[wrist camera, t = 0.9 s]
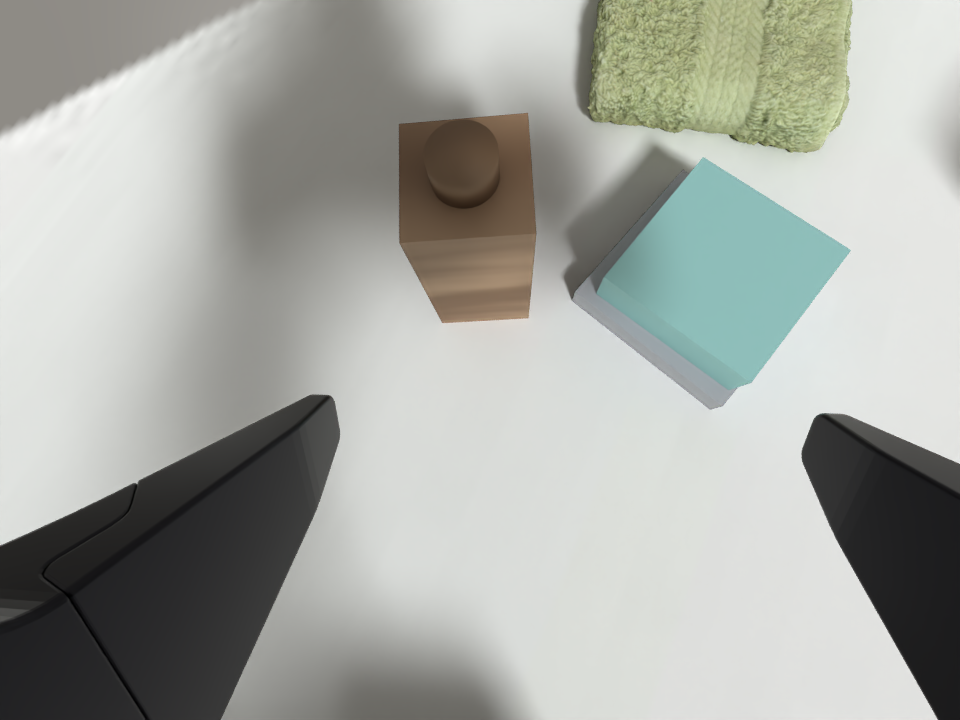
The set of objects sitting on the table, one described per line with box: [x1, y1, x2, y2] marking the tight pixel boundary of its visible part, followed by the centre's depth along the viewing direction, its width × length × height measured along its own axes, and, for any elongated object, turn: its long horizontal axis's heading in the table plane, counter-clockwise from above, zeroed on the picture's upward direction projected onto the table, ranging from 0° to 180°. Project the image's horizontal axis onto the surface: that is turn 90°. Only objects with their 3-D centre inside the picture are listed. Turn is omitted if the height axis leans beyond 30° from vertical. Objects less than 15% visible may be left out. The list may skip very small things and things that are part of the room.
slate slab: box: [572, 170, 738, 409], centre depth 22 cm, size 8×8×2 cm
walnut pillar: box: [399, 113, 536, 323], centre depth 19 cm, size 4×4×10 cm
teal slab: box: [596, 157, 851, 390], centre depth 20 cm, size 7×7×2 cm
